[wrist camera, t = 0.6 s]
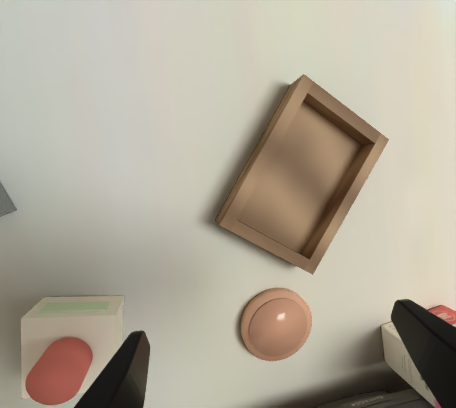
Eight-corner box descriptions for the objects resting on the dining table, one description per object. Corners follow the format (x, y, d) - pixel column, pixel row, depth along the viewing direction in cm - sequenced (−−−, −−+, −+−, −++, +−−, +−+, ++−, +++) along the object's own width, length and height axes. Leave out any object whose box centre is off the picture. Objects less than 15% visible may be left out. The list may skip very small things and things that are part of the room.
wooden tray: (300, 265, 24) (312, 274, 22) (215, 219, 22) (219, 225, 19) (369, 142, 24) (388, 139, 22) (290, 84, 21) (304, 74, 19)
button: (92, 377, 18) (81, 401, 16) (42, 381, 17) (25, 407, 15) (93, 336, 18) (82, 356, 16) (42, 338, 17) (25, 360, 15)
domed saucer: (303, 352, 25) (308, 359, 24) (237, 357, 24) (239, 365, 23) (311, 287, 24) (317, 292, 23) (243, 288, 23) (246, 293, 22)
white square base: (121, 360, 21) (113, 390, 19) (43, 366, 20) (21, 398, 17) (124, 293, 21) (115, 313, 18) (44, 295, 20) (20, 316, 17)
